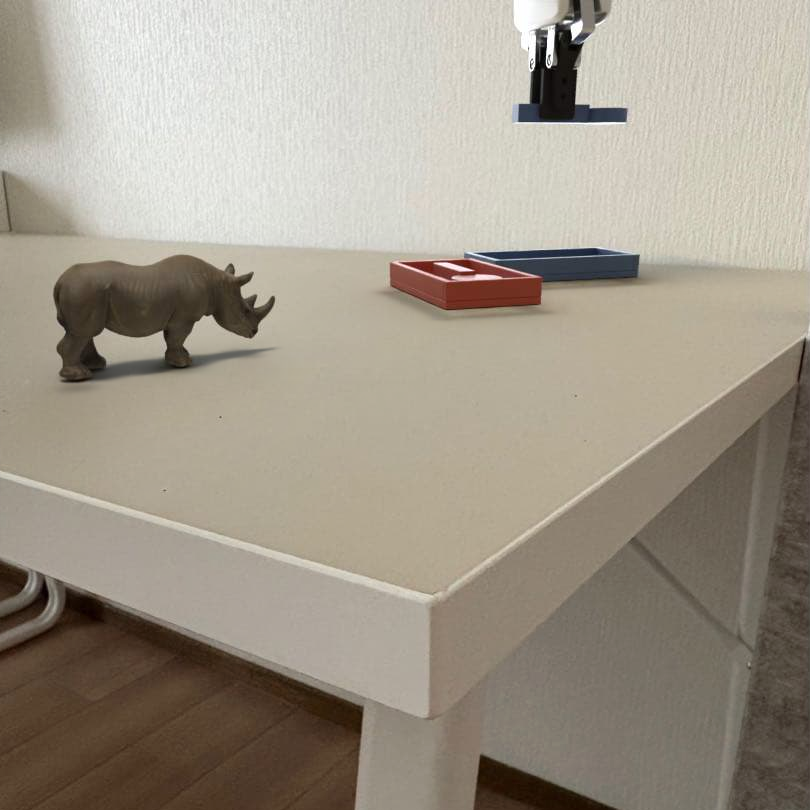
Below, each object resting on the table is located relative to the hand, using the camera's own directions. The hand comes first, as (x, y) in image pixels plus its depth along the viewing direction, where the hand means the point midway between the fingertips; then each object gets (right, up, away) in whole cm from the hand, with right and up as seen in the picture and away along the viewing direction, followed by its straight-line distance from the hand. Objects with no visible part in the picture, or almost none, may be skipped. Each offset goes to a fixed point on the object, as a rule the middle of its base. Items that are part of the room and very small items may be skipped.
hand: (551, 118), depth 79 cm
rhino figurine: (-27, -28, -27) cm, 47 cm away
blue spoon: (+1, 0, +1) cm, 1 cm away
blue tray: (+1, -11, +9) cm, 15 cm away
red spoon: (-8, -16, -3) cm, 18 cm away
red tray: (-8, -16, -3) cm, 19 cm away
